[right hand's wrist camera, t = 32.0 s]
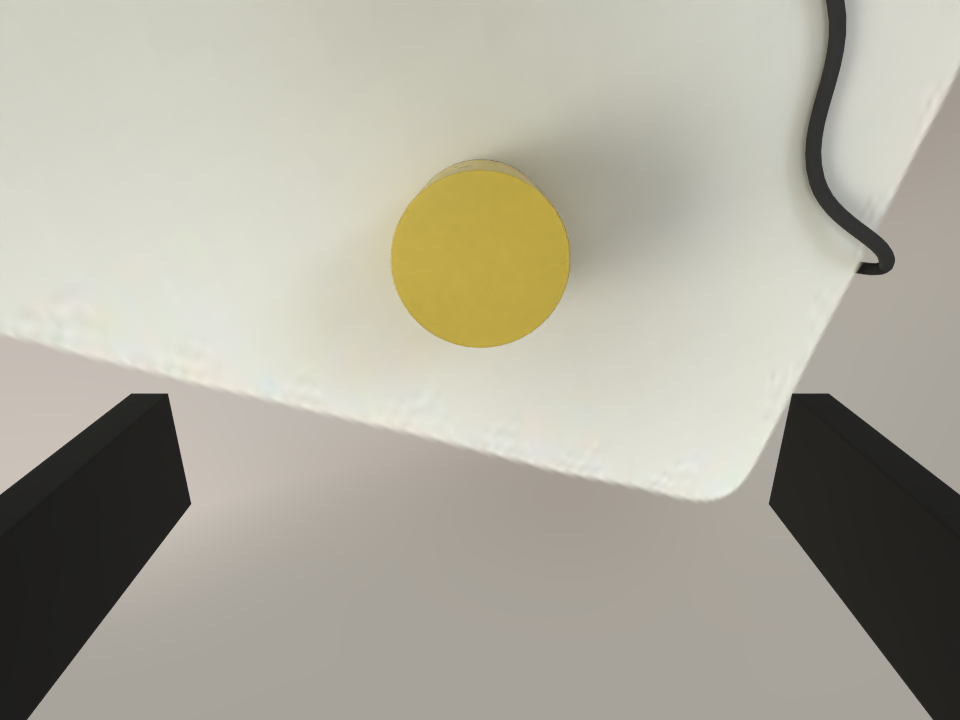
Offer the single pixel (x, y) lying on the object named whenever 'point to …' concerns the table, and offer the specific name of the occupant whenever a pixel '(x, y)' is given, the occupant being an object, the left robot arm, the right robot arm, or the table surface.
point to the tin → (480, 255)
